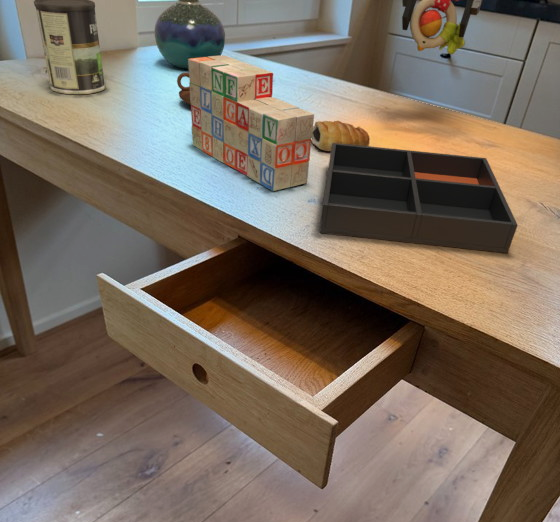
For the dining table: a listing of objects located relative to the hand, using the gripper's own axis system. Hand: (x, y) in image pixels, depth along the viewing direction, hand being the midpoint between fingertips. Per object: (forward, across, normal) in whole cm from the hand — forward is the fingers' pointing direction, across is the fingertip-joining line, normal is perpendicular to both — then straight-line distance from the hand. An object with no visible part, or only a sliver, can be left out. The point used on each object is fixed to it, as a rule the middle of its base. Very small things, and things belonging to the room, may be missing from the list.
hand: (432, 27), depth 87 cm
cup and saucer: (+13, +37, -10) cm, 41 cm away
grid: (+32, -6, +9) cm, 34 cm away
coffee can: (+16, +64, -7) cm, 67 cm away
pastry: (+20, +10, -4) cm, 23 cm away
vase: (-4, +56, -28) cm, 62 cm away
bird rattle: (0, -1, -5) cm, 5 cm away
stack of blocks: (+30, +19, +7) cm, 37 cm away
